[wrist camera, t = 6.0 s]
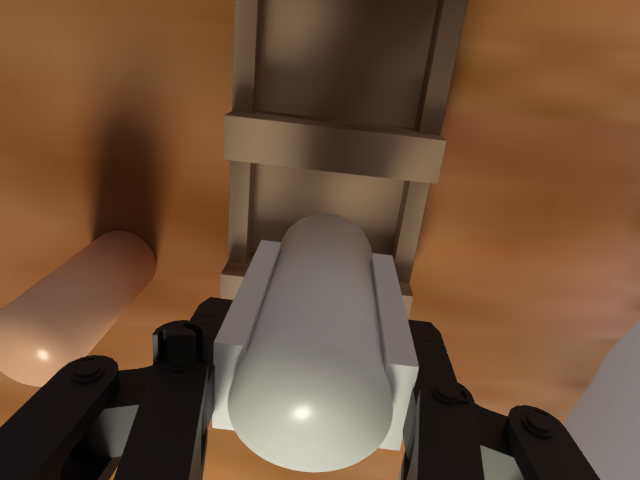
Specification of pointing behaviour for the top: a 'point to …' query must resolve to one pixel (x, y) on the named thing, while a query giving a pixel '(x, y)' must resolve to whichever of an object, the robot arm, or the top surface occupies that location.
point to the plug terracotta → (73, 307)
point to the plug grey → (315, 354)
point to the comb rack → (337, 120)
